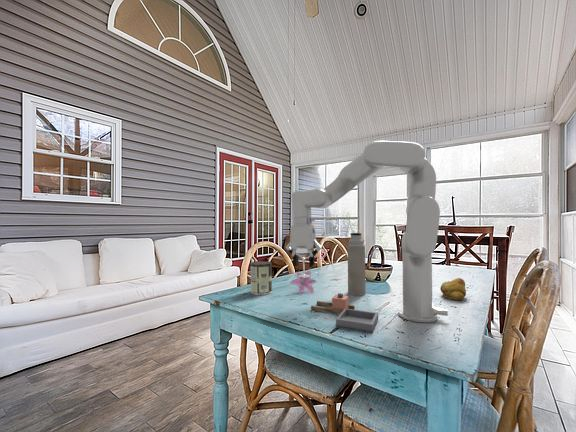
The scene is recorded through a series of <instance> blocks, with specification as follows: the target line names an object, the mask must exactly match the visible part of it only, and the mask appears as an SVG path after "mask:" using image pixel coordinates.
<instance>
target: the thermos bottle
mask: <svg viewBox="0 0 576 432" xmlns="http://www.w3.org/2000/svg"><path fill="white" fill-rule="evenodd" d="M362 238H363V237H362V233H361V232H351V233H350V239H348V244H347V294H349V295H352V296H364V295H366V294H367V293H366V291H367V290H366V245H365V244H364V240H363V239H362Z"/></svg>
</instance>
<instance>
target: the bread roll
mask: <svg viewBox="0 0 576 432" xmlns="http://www.w3.org/2000/svg"><path fill="white" fill-rule="evenodd" d="M440 291H441V293H442V296H443V297H445V298H448V299H451V300H454V301H462V300H464V298H466V295H467V292H466V291H467V289H466V282H465V280H464V279H463V278H460V277H458V278H453V280H450V281H449V280H448V281H444V282H443V283H441V284H440Z"/></svg>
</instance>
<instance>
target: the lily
mask: <svg viewBox="0 0 576 432" xmlns="http://www.w3.org/2000/svg"><path fill="white" fill-rule="evenodd" d="M295 273H296V278H294V279H292V280H291V281H290V282H289V283H290V285H294V286H295V287H298V295H299V294H301V293H303V292H304V291H307V292H308V293H310V294H315V292H314V286H313V285H314V284H316V283H317V282H318V281H317V280H316V279H313V278H311V277H312V275H311V269H308V270H305V274H307V275H310V277H298V276H299V275H302V274H303V273H300V272H298V271H296V272H295Z"/></svg>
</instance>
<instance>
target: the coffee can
mask: <svg viewBox="0 0 576 432" xmlns="http://www.w3.org/2000/svg"><path fill="white" fill-rule="evenodd" d="M249 264H250V266H249V267H250V293H251V294H252V295H255V296H265V295H269V294H272V293H273V283H272V282H273V280H272V278H273V276H272V274H273V273H272V270H273V269H272V262H271V261H268V260H267V261H266V260H258V261H252V262H250V263H249Z"/></svg>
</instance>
